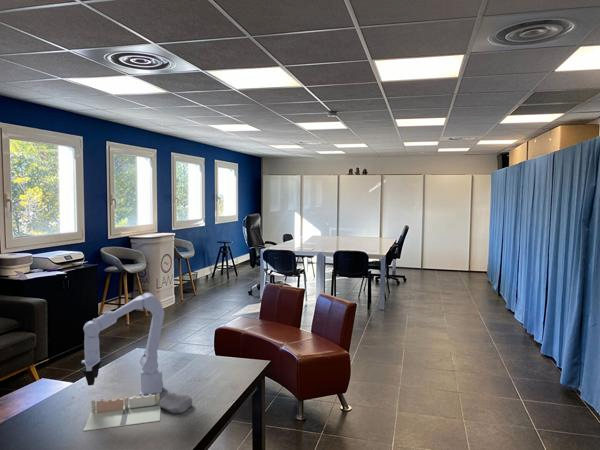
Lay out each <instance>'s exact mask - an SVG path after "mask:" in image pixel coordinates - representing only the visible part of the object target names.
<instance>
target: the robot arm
mask: <svg viewBox="0 0 600 450" xmlns="http://www.w3.org/2000/svg"><path fill="white" fill-rule="evenodd" d="M144 309H146V310H147V311H148V312H150V313H151V315H152V316H151V321H150V328H149V331H148V332H149V333H148V337H147V342H146V348H145V350H144V351H143V355H142V356H141V357H140V360H139V362H140V365H141V367H142V368H141V370H140V389H139V393H138V395H139V396H141V395H144V396H146V395H149V394H151V395H155V394H157V393H160V394H161V393H163V387H164V382H163V369H159V363H158V356H159V355H158V350H159V344H160V339H161V333H162V328H163V324H164V320H165V319H164V317H165V310H164V307H163V306H162V304H161V301H160V300H159V299H158V298H157V297H156V296H155V294H153V293H152V292H145V293H143V294H141V295H138V296H136V297H135V298H133V299H132V300H130V301H128V302H127V303H125V304H124V305H122V306H121V307H119V308H117V309H116V310H114V311H112V310H109V311H104V312H103V314H101V315H100V316H98V317H96V318H95V317H94V318H93V319H92V320H89V321H86V323H84V325H83V328H82V329H83V333H84V341H83V344H84V345H83V347H84V359H82V360H81V364H84V365H85V368H83V369H82V370H81V371H82V374H83V375H84V377H85V380H86V383H87V385H88V386H94V384H95V380H96V379H98V377H99V372H100V371H99V370H100V367H101V364H102V362H103V360H102V359H101V358H100V357H101V356H100V354H101V353H100V338H99V334H100V332H101V331H103V330H105V329H107V328H108V327H110V326H112V325H114V324H115V323H117V320H118V319H119V318H121V317H122V316H125V315H126V314H128V313H130V312H133V311H134V310H144Z"/></svg>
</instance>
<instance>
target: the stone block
mask: <svg viewBox="0 0 600 450" xmlns="http://www.w3.org/2000/svg"><path fill="white" fill-rule="evenodd" d="M192 405H193V398H192V396H190V395H189V394H177V393H175V392H172V393H170V394H168V395H165V396H164V397H162V398H160V403H159V406H160V407H161V409H163V410H166V411H167V412H170V413H172V414H182V413H184V412H186V411H187V410H188V409H189V408H191V406H192Z"/></svg>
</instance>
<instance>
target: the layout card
mask: <svg viewBox="0 0 600 450" xmlns="http://www.w3.org/2000/svg"><path fill="white" fill-rule="evenodd" d="M123 405H124V408H123V409H120V410H111V411H103V412H97V408H95V413H92V410H91V411H90V414H89V417H88V419H87V421H86V424H85V426H84V428H83V432H87V431H95V430H102V429H109V428H117V427H124V426H125V427H126V426H132V425H140V424H141V425H142V424H147V423H154V422H155V423H157V422H161V410H162V408H161V407H160V406H159V405H158V406H157V405H156V401H155V405H152V406H144V407H136V408H130V406H129V404H128V409H125V404H123Z"/></svg>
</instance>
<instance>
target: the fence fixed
mask: <svg viewBox="0 0 600 450" xmlns="http://www.w3.org/2000/svg"><path fill="white" fill-rule="evenodd" d="M160 400H161V393H155V394H148V395H139V396H137V395H133V396H132V397H131V396H130V397H128V396H125V397H124V405H125V409H128V405H129V406H130V408H136V407H144V406H152V405H155V402H156V405H157V406H158V405H159V403H160Z"/></svg>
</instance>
